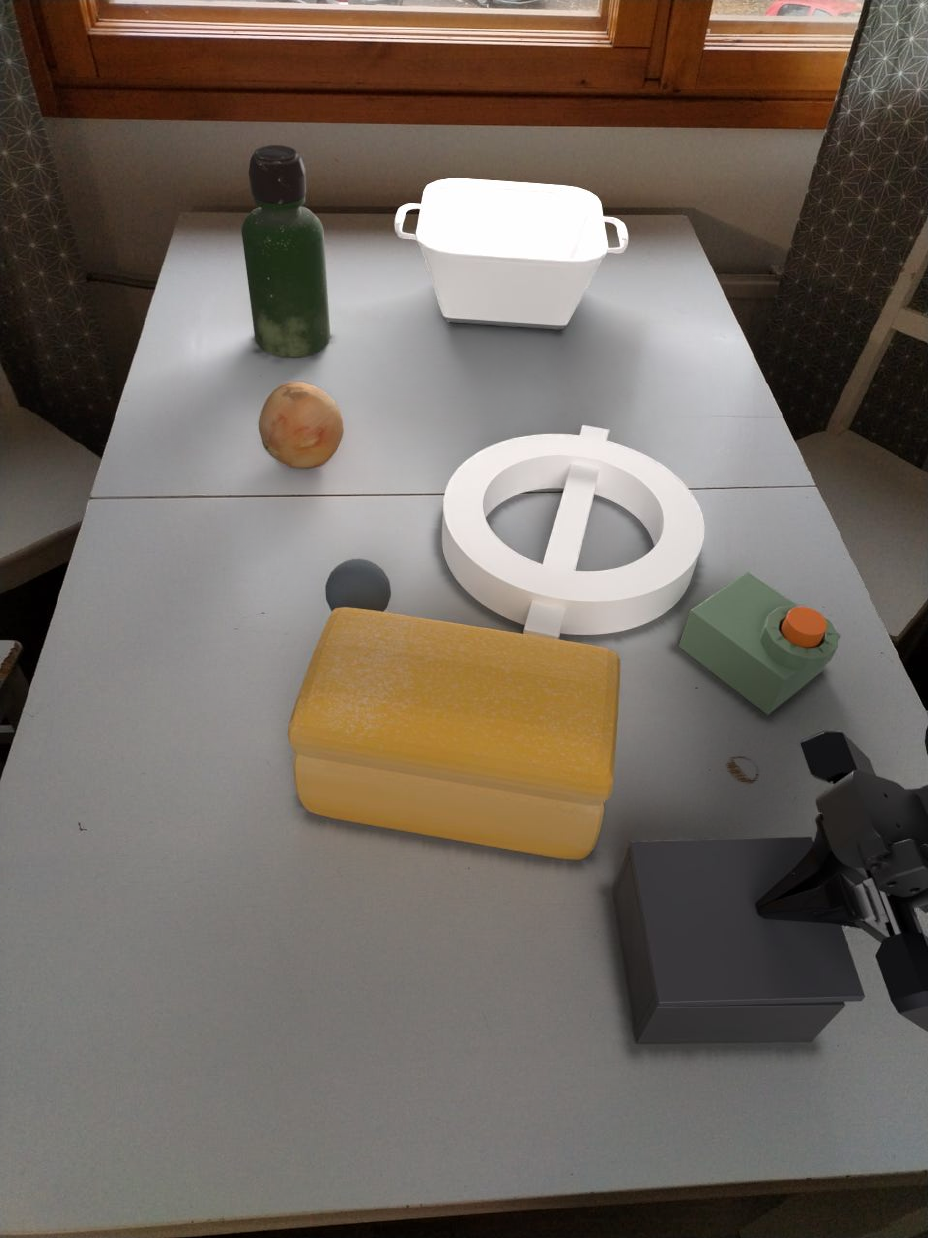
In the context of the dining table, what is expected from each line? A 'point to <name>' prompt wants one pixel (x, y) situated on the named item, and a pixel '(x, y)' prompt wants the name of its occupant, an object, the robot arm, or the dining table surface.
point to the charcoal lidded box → (701, 1020)
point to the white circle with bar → (571, 534)
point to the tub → (510, 249)
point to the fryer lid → (733, 927)
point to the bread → (457, 732)
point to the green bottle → (285, 258)
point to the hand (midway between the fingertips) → (758, 911)
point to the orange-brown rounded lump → (300, 425)
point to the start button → (804, 627)
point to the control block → (754, 643)
